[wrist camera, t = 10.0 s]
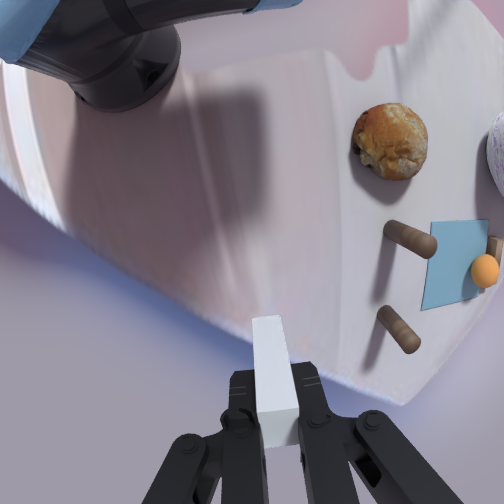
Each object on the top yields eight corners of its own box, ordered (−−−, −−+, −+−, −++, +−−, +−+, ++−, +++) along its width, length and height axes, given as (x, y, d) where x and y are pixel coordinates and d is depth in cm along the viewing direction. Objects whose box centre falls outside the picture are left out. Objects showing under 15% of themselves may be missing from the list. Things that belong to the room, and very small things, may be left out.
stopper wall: (488, 236, 35) (497, 240, 32) (494, 236, 35) (503, 239, 32) (481, 280, 37) (490, 285, 35) (487, 278, 37) (496, 283, 35)
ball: (468, 250, 36) (483, 262, 31) (491, 249, 35) (507, 260, 30) (463, 280, 38) (476, 295, 33) (486, 278, 36) (500, 292, 31)
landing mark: (431, 222, 34) (432, 222, 34) (488, 219, 34) (488, 219, 34) (420, 309, 38) (421, 310, 38) (476, 296, 38) (477, 296, 38)
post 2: (378, 306, 38) (406, 339, 29) (393, 304, 38) (422, 335, 29) (376, 321, 38) (402, 356, 30) (390, 319, 38) (418, 351, 30)
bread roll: (395, 178, 36) (441, 181, 29) (348, 181, 32) (402, 184, 25) (389, 112, 33) (435, 107, 26) (340, 102, 29) (392, 90, 22)
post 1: (383, 220, 34) (420, 236, 25) (399, 219, 34) (438, 234, 25) (383, 239, 35) (418, 260, 26) (399, 238, 35) (436, 257, 26)
